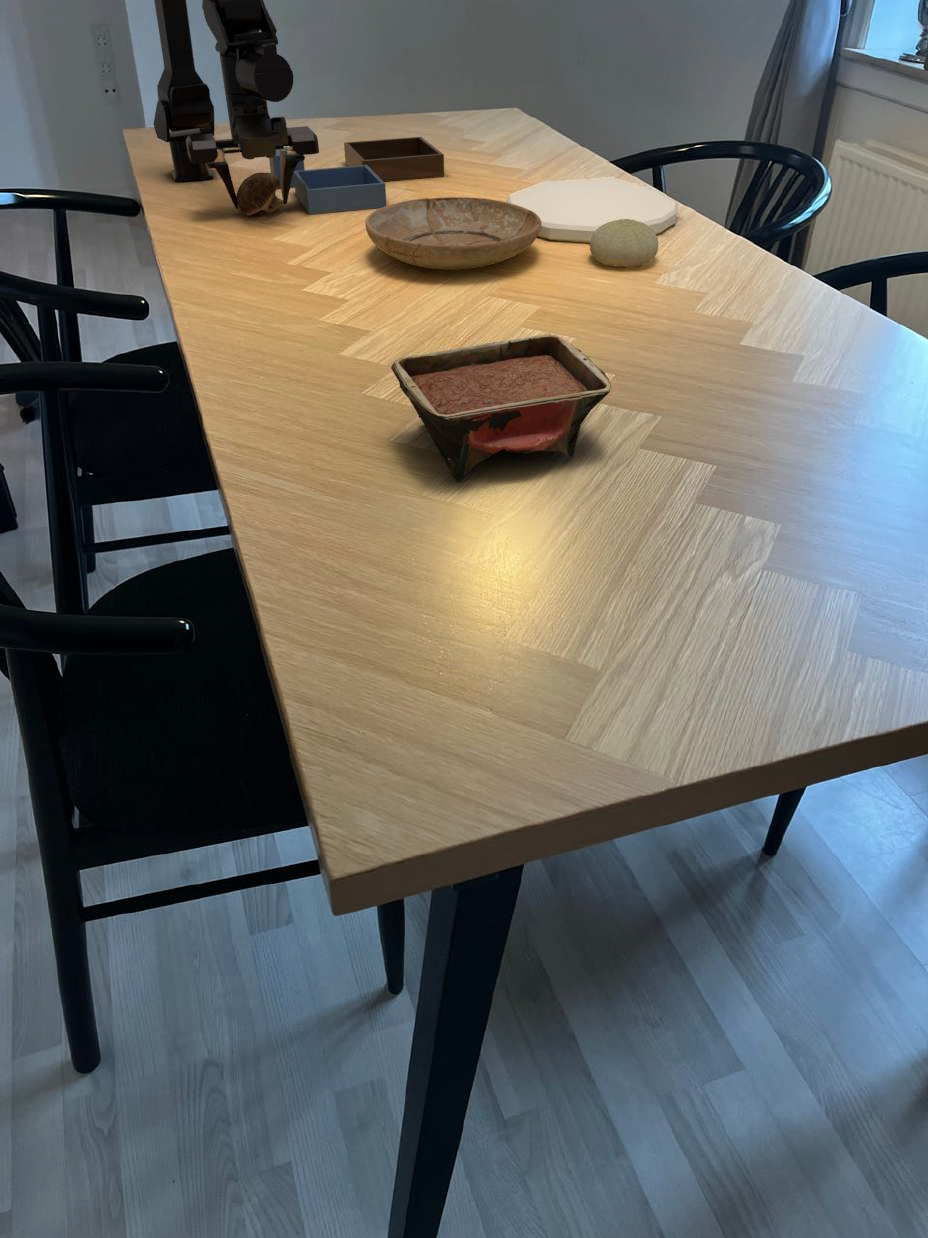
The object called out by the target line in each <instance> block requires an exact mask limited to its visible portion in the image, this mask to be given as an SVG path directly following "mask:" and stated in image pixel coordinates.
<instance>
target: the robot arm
mask: <svg viewBox="0 0 928 1238" xmlns="http://www.w3.org/2000/svg"><path fill="white" fill-rule="evenodd" d="M153 3H154V8H155V14H156V20H157V28H158V33H159V40H160V48H161V54H162V61H163V71H162V72H161V76H160V78H159V80H158V83H157V85H156V89H157V102H156V108H155V113H154V118H153V128H154V131H155V134H156V138H157V139H159V140H161V141H163V142H165V143H169V149H170V154H171V160H172V164H173V165H172V166H173V169H171V175H172V177H173V181H174V182H185V181H197V180H199V181H200V180H211V179H214V174H213V172H212V170H211V169H215V171H216V173H217V174H218V176H219V178H220V179H221V180H222V182H223V184H224V186H225V188H226V190H227V194H228V195H229V197H230V200H231V203H232V205H233V207H234V209H235V210H238V209H239V207H238V203H237V192H236V190H235V187H234V183H233V179H232V175H231V171H230V167H229V163H228V161H227V159H226V154H227V155H228V154H237V153H238V154H239V153H241V156H242V158H243V159H245V160H254V159H256V158H258V159H259V158H267V159H269V158H272V157H274V156H275V155H276V150H277V149H282V150H280V169H281V188H280V189H281V190H280V191H281V197H282V200H283V201H284V203H283V205H288V200H289V195H290V189H291V187H290V185H291V180H292V176H293V173H294V170H295V167H296V166H297V164H298V162H299V161H305V159H306V155H316V154H319V153H320V147H319V138H318V136H317V134H316V133H315V132H314V131H313V130H312V129H311V128H310V127H309V126H308V125H304V126H293V127H288V126H287V122H286V118H285V116H274V117H270V115H269V107H268V102H270V103H271V102H272V103H279V102H281V101H283V100H285V99H286V98H288V96H290V94H291V92H292V89H293V85H294V72H293V70H292V68H291V65H290V64H289V62H288V60H287V59H286V58H285V57H283V56H282V55H280V54H278V48H277V46H278V45H279V39H278V36H277V31H278V30H277V28H276V25H275V23H274V21H273V19H272V17H271V15H270V13H269V11H268V9H267V6H266V3H265V1H264V0H202V1H201V8H202V11H203V15H204V19H205V22H206V25H207V26H208V28H209V30H210V31H211V34H212V35H213V37H214V39H215V40H216V43H215V46H214V49H215V51H216V52H218V53H219V60H220V66H221V74H222V81H223V88H224V93H225V100H226V107H227V115H228V122H229V128H230V129H229V130H230V135H231V138H225V139H215V105H214V104H213V101H212V99H211V91H210V88H209V86H208V84H207V83H205V82H204V81H203V79H202V78H201V76H200V75H199V73H198V72H197V71H196V65H195V58H194V51H193V41H192V35H191V28H190V19H189V13H188V4H187V0H154V1H153Z"/></svg>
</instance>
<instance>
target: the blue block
mask: <svg viewBox="0 0 928 1238" xmlns="http://www.w3.org/2000/svg"><path fill="white" fill-rule="evenodd" d="M280 150H282V149H277V150H276V155H275V156H274V157H272V158H268V160H269V161H268V162H269V169H270V173H272V174H275V175H276V176H277V177H278V178H279V179H280V185H279V187H278V188H277V189H281V169H280ZM304 161H305V160H304ZM304 161H299V162H298V164H297V166H296V167H295V170H294V171H300V170H306V169H305V162H304ZM290 188H295V184H294V175H293V176H292V180H291V185H290Z"/></svg>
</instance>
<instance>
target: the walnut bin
mask: <svg viewBox="0 0 928 1238" xmlns="http://www.w3.org/2000/svg"><path fill="white" fill-rule="evenodd" d="M343 147H344V148H343V150H344V159H345V160H344V161H345V165H346V167H348V166H361V165H368V166H369V168H370V169H371V170H372V171H373V172H374V173H375V174H376V175H377V176H378V177H379V178H380V179H381V180H382V181H383V182H384V183H385V182H397V181H398V182H399V181H406V180H407V181H409V180H421V179H431V178H432V179H433V178H442V177H445V154H444V153H443V152H442V151H441V150H439V149H438V148H436V147H435V146H434V145H433V144H431V143H430V142H429V141H427V140H426V139H424V138H423V137H422V136H411V137H399V138H386V139H385V138H384V139H373V140H360V141H348V142H344V143H343Z"/></svg>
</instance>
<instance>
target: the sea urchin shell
mask: <svg viewBox="0 0 928 1238" xmlns="http://www.w3.org/2000/svg"><path fill="white" fill-rule="evenodd" d="M589 251H590V254H591V255H592V256H593V257H594V259H595V260H596V261H597V262H599V263H601V264H602V265H603V266H606V267H616V268H617V267H619V268H620V267H622V268H639V267H643V266H644V265H646V264H648V263H650V262H651V261H652V260H653V259H654V258H655V257H656V256H657V254H658V251H659V237H658V234H655V232H654V231H653V230H652V228H650V227H649V226H648V225H646V224H644V223H641V222H638V221H635V220H630V219H619V220H616V221H614V220H613V221H612V222H608V223H606V224H603V225H602V226H600V227H599V228H598V229H597V230H596V231H595V232H594V233H593V235H592V238H591V240H590V243H589Z"/></svg>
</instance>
